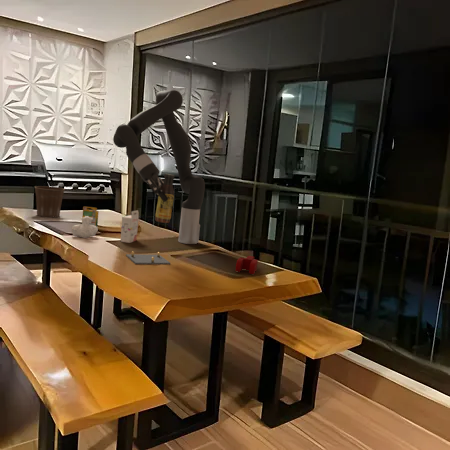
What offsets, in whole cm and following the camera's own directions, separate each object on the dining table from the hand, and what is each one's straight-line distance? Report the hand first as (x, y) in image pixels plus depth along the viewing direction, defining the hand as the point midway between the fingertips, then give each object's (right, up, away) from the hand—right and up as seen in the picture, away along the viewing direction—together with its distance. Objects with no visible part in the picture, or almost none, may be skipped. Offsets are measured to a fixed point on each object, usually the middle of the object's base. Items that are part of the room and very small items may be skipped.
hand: (169, 200), depth 190 cm
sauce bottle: (-3, -9, +2) cm, 10 cm away
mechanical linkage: (+32, -29, -3) cm, 43 cm away
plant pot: (-78, -5, +76) cm, 109 cm away
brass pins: (-7, -24, -7) cm, 26 cm away
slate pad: (-8, -24, -6) cm, 26 cm away
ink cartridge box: (-23, -18, +29) cm, 41 cm away
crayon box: (-47, -12, +48) cm, 68 cm away
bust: (-42, -16, +25) cm, 52 cm away
